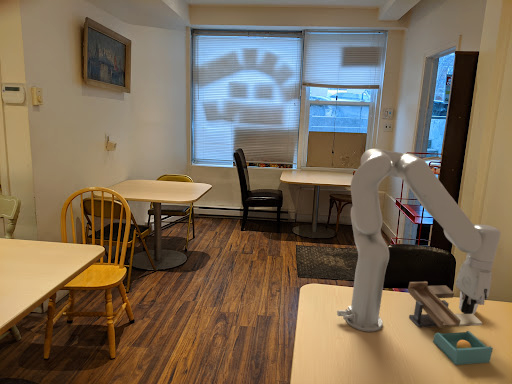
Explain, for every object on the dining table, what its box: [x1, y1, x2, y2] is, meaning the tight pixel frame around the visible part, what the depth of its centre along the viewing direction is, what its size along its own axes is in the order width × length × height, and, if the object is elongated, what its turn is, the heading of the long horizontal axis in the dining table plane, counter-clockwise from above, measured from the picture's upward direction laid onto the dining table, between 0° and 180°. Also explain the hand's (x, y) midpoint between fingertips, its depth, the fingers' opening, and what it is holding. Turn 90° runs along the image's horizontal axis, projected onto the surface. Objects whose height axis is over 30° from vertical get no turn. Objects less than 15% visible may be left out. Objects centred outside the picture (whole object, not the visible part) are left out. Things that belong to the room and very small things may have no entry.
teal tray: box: [432, 330, 493, 366], centre depth 116 cm, size 12×11×5 cm
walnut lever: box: [407, 281, 483, 329], centre depth 131 cm, size 16×20×4 cm
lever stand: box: [408, 299, 449, 328], centre depth 132 cm, size 12×6×8 cm, turn 99°
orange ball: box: [457, 340, 471, 349], centre depth 115 cm, size 4×4×4 cm
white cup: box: [458, 290, 479, 315], centre depth 141 cm, size 7×7×7 cm
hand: (466, 312), depth 125 cm, fingers closed
